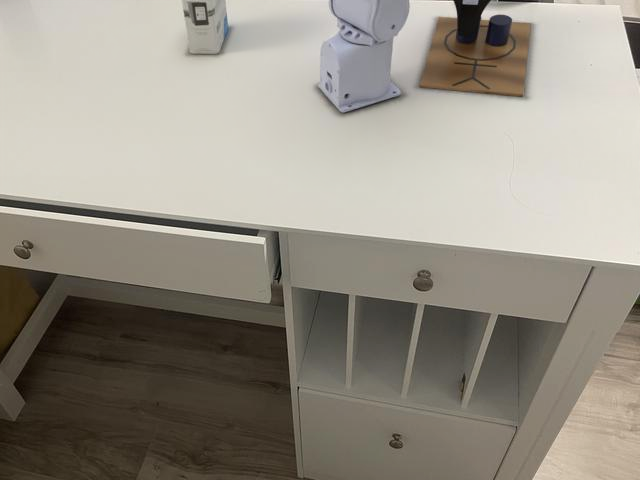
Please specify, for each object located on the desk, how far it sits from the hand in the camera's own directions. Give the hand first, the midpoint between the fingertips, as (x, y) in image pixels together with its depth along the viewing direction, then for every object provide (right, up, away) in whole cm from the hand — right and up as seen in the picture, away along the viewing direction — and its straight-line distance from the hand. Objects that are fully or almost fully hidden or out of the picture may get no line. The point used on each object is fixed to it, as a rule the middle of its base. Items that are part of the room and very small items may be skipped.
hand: (466, 29), depth 101 cm
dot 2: (+4, -2, 0) cm, 5 cm away
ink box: (-39, +2, +9) cm, 40 cm away
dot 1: (0, -1, +1) cm, 1 cm away
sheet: (+1, -4, -1) cm, 5 cm away
